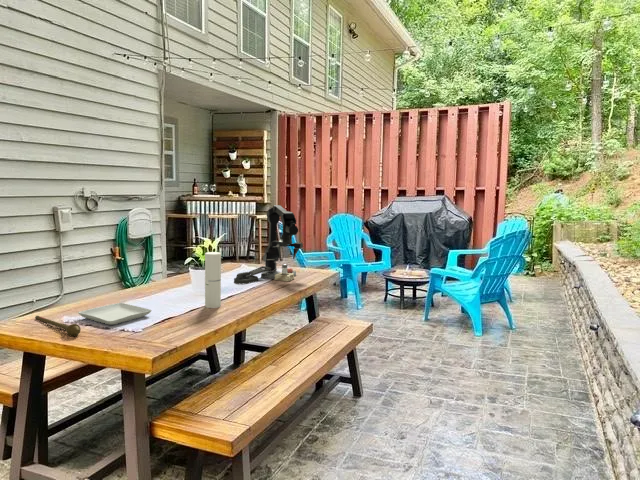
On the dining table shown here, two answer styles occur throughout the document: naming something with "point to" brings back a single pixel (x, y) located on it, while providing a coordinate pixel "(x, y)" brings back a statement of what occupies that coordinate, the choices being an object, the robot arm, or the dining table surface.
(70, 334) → the ball ended rod
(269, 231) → the robot arm
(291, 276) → the rack
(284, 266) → the drill peg
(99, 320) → the salad plate
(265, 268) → the dark grey stapler
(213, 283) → the cylindrical container
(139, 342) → the dining table surface
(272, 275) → the socket block
